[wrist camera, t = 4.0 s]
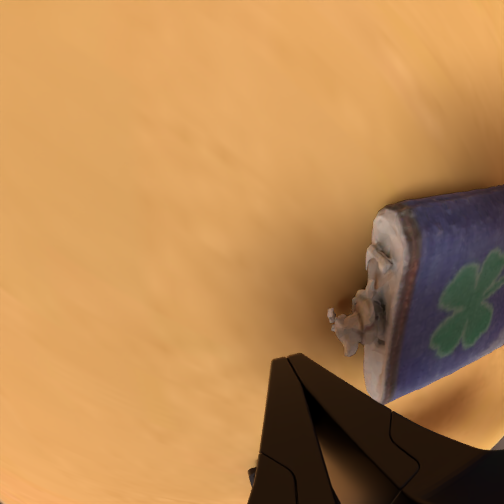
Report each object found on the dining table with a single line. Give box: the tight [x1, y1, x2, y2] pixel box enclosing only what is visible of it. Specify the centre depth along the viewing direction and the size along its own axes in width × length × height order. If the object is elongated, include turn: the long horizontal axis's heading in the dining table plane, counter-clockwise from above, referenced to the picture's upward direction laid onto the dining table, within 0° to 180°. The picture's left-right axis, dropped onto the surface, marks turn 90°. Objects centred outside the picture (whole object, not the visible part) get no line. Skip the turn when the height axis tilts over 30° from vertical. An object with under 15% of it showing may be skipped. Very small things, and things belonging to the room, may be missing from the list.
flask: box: [327, 184, 504, 405], centre depth 11 cm, size 9×3×11 cm
